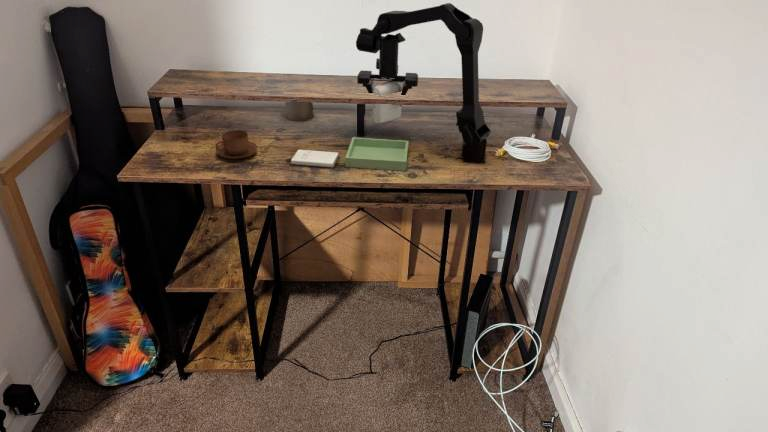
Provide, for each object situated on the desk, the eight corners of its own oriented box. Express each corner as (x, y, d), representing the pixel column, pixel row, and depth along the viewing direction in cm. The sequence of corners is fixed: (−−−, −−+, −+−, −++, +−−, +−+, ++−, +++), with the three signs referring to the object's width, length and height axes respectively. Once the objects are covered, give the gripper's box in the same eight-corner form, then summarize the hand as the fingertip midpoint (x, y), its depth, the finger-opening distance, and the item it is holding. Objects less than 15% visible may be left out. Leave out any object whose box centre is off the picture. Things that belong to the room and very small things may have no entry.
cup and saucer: (237, 166, 147) (234, 146, 144) (207, 156, 152) (204, 136, 149) (266, 152, 156) (264, 133, 153) (237, 143, 161) (234, 124, 158)
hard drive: (333, 168, 148) (291, 164, 149) (339, 157, 155) (298, 153, 156) (333, 163, 147) (290, 159, 148) (339, 152, 154) (298, 148, 155)
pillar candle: (318, 114, 186) (316, 73, 178) (304, 123, 178) (302, 80, 170) (294, 110, 189) (292, 69, 181) (280, 118, 181) (277, 76, 173)
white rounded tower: (378, 125, 163) (379, 86, 157) (370, 121, 166) (370, 83, 160) (403, 118, 169) (404, 81, 163) (394, 114, 172) (396, 77, 165)
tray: (408, 149, 161) (408, 140, 160) (405, 170, 148) (406, 161, 146) (352, 145, 162) (352, 137, 161) (345, 166, 149) (345, 157, 147)
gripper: (419, 51, 163) (416, 98, 171) (361, 48, 164) (361, 96, 172) (419, 59, 154) (415, 109, 162) (357, 56, 155) (357, 106, 163)
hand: (387, 105), depth 165 cm, fingers closed on white rounded tower, 8 cm apart
